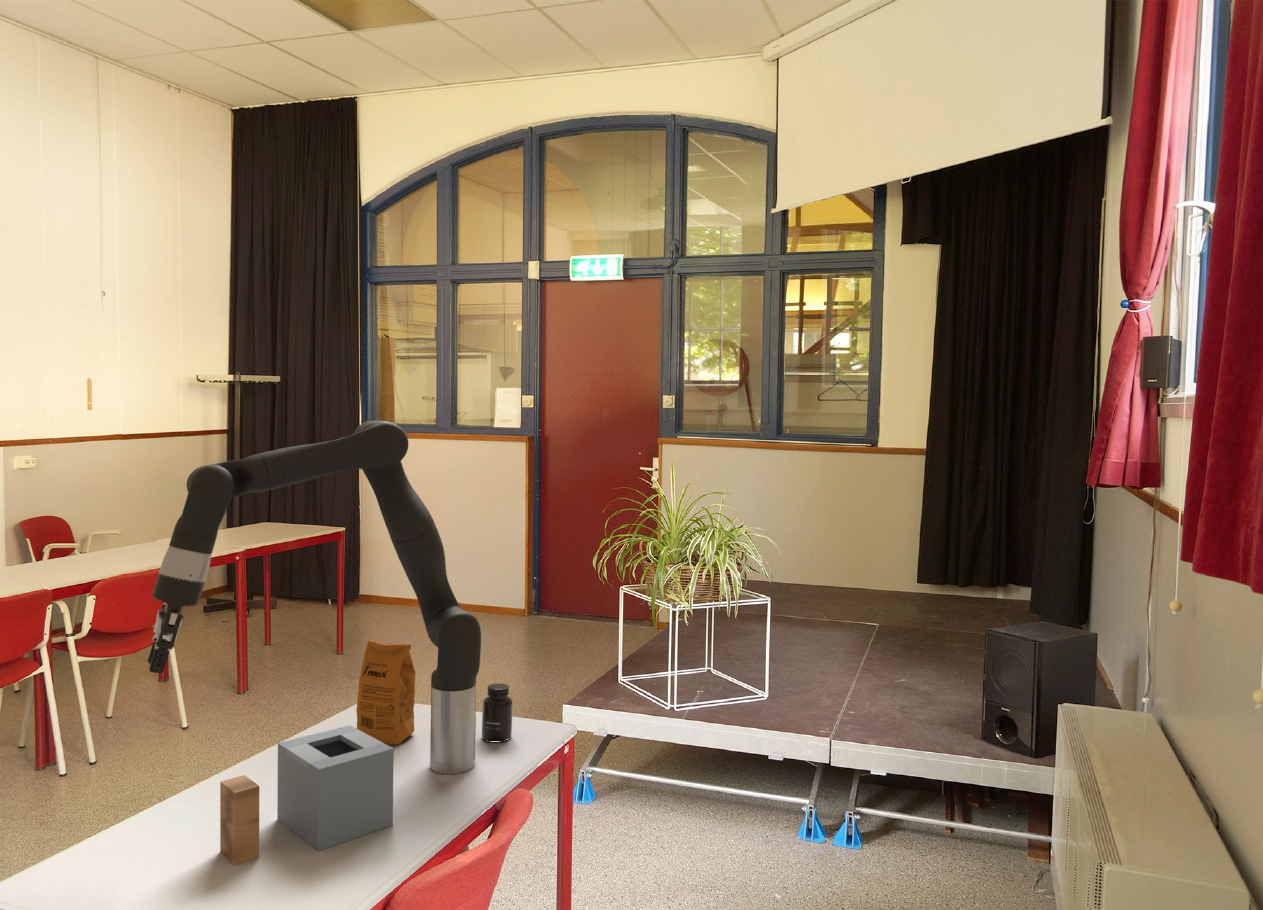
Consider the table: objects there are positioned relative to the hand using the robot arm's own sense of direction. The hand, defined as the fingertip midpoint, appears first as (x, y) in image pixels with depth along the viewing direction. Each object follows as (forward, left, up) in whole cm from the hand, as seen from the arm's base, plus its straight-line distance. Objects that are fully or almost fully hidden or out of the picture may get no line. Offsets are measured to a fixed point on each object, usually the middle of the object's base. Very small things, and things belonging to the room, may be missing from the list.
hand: (154, 667), depth 154 cm
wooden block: (+2, +19, -29) cm, 35 cm away
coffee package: (-53, +13, -29) cm, 62 cm away
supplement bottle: (-61, +37, -29) cm, 77 cm away
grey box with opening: (-13, +27, -29) cm, 42 cm away
